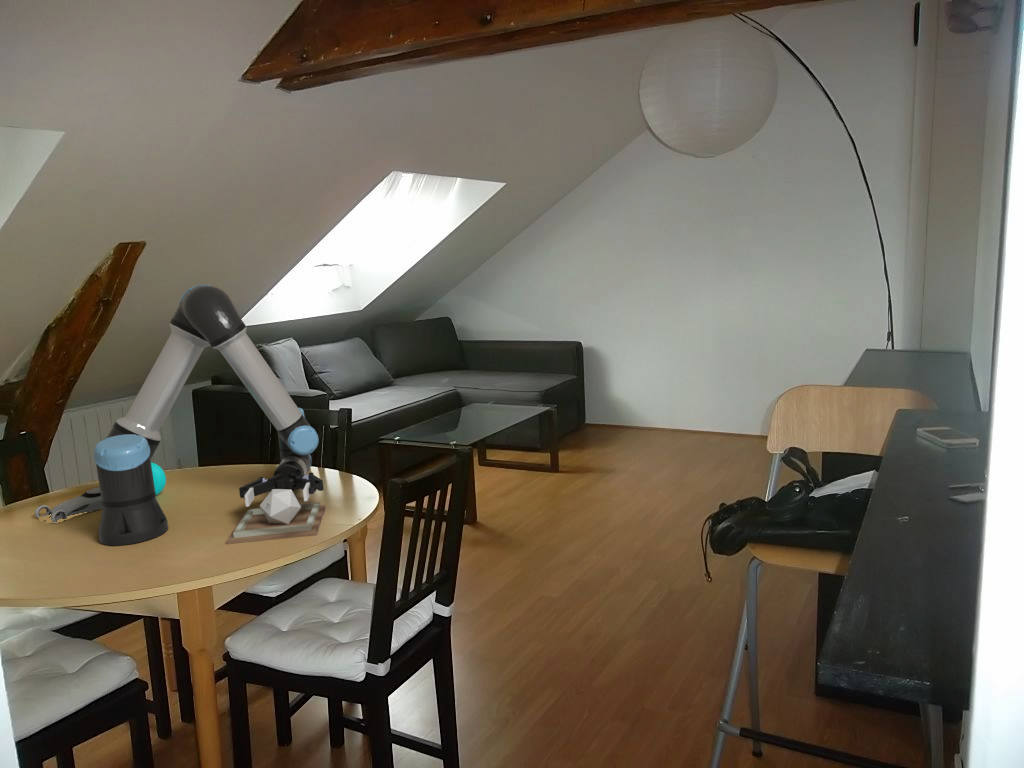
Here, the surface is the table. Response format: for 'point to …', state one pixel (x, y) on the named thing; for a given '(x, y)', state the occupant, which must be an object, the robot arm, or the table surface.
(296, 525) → the dice tray
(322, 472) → the table surface
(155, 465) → the turquoise ball
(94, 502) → the car model
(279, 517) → the die
